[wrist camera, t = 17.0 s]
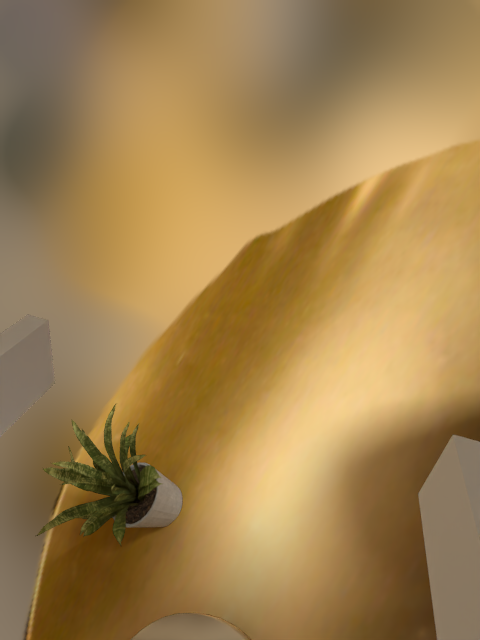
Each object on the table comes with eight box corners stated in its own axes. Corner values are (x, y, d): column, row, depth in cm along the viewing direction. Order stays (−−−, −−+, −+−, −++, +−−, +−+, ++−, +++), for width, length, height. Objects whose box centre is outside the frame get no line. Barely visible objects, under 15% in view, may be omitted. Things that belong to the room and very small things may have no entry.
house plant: (214, 426, 56) (134, 374, 44) (230, 539, 47) (136, 510, 35) (127, 463, 59) (33, 423, 48) (127, 574, 50) (11, 558, 39)
